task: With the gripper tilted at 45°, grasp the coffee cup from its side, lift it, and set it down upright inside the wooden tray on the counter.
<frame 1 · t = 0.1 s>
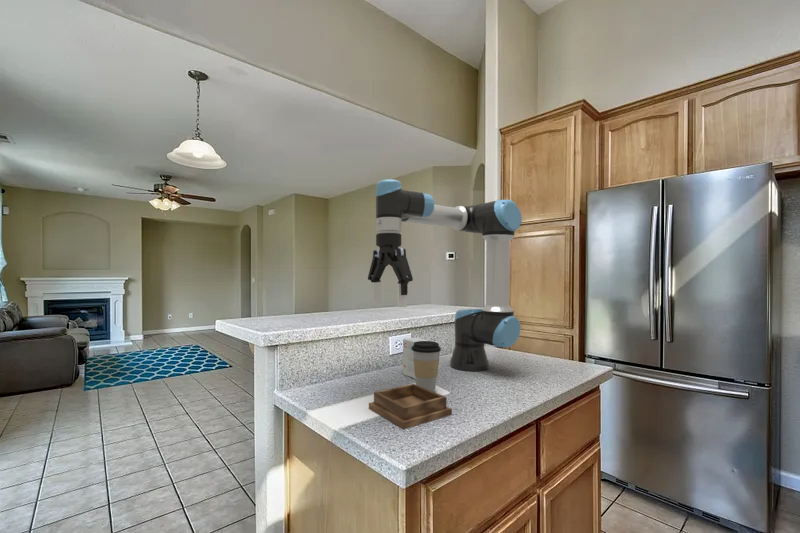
hand: (388, 305, 108), 28 cm above the counter, tool pointing down, fingers open, 13 cm apart
small box: (415, 375, 134), on the counter
coffee cup: (425, 391, 117), on the counter
wooden tray: (409, 411, 99), on the counter
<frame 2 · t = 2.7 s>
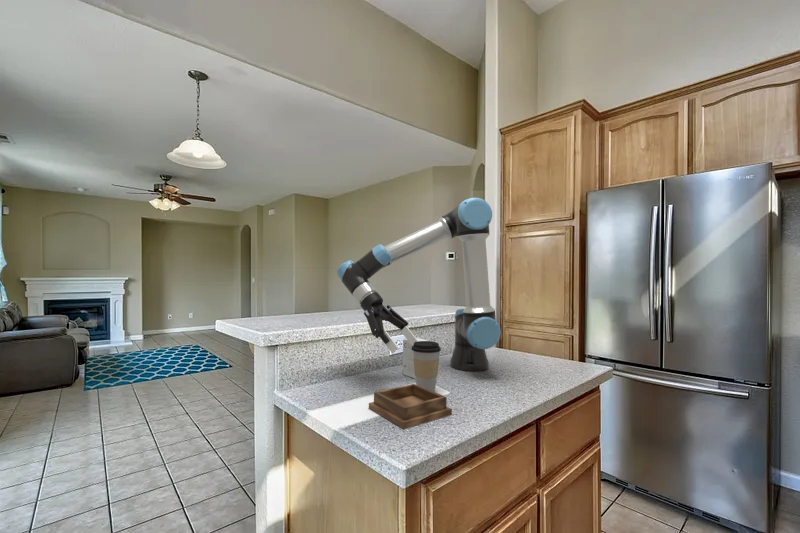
hand: (405, 346, 120), 13 cm above the counter, tool tilted 45°, fingers open, 13 cm apart
nothing on the counter moved.
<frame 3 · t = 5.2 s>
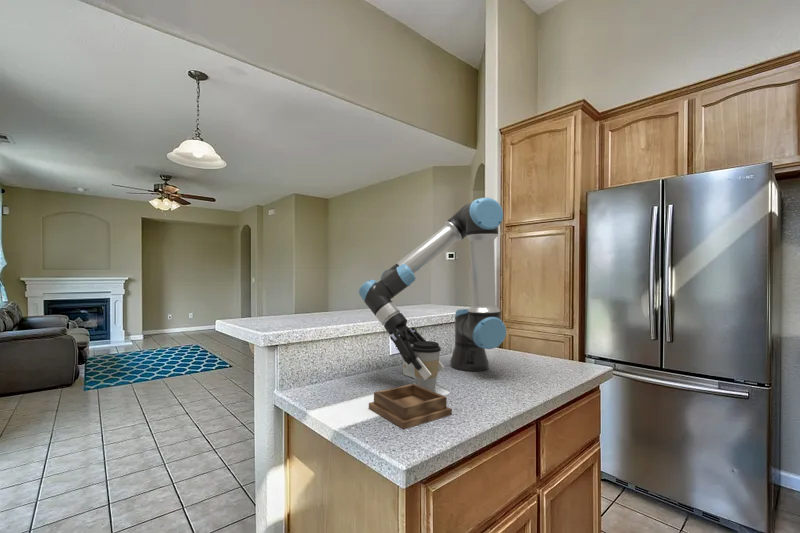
hand: (434, 373, 115), 6 cm above the counter, tool tilted 45°, fingers closed on coffee cup, 9 cm apart
coffee cup: (425, 391, 117), on the counter, touching gripper
everything else where it was.
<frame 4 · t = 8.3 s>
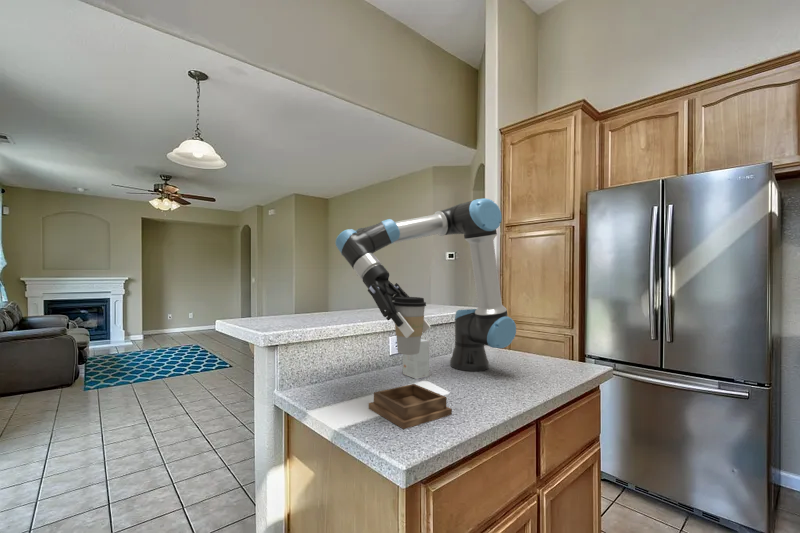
hand: (419, 332, 99), 21 cm above the counter, tool tilted 45°, fingers closed on coffee cup, 9 cm apart
coffee cup: (408, 353, 101), point 15 cm above the counter, touching gripper
everything else where it was.
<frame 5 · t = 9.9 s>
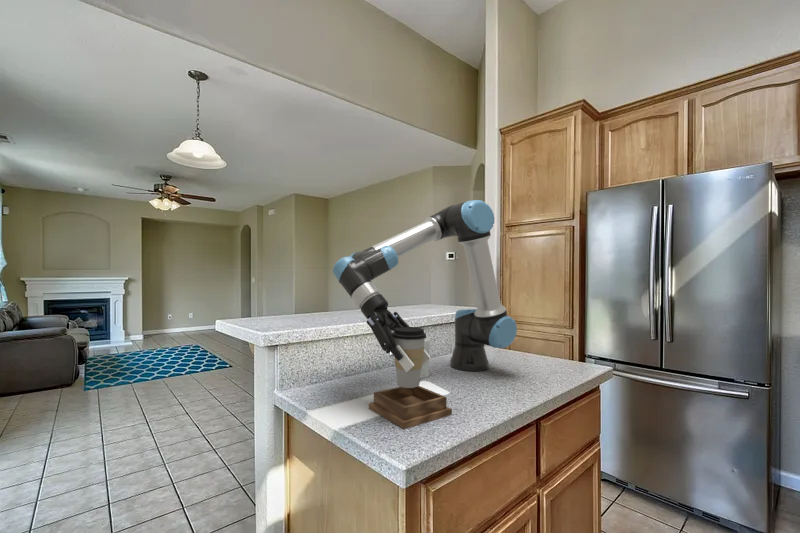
hand: (419, 364, 98), 13 cm above the counter, tool tilted 45°, fingers closed on coffee cup, 9 cm apart
coffee cup: (408, 385, 99), point 7 cm above the counter, touching gripper
everything else where it was.
when the fingers open (9 cm above the counter, at t = 11.2 s): coffee cup drops 2 cm, resting on wooden tray.
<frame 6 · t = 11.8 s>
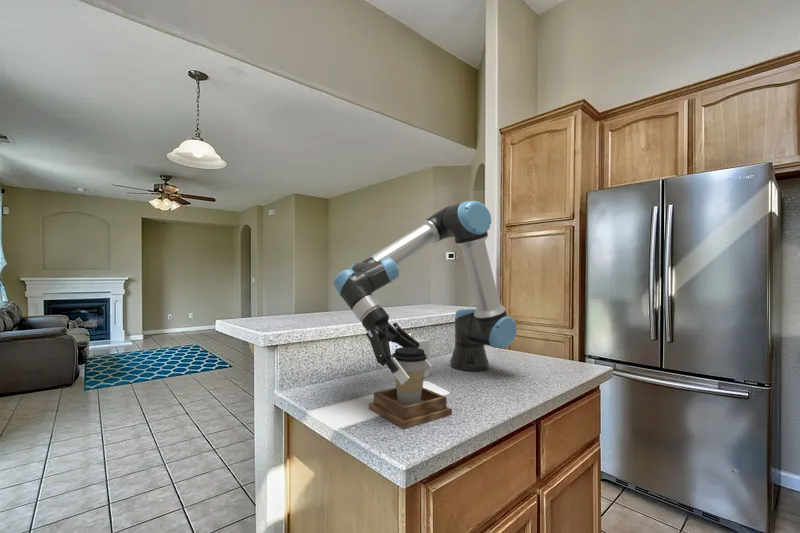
hand: (417, 375, 98), 10 cm above the counter, tool tilted 45°, fingers open, 13 cm apart
coffee cup: (408, 406, 99), point 1 cm above the counter, touching wooden tray
everything else where it was.
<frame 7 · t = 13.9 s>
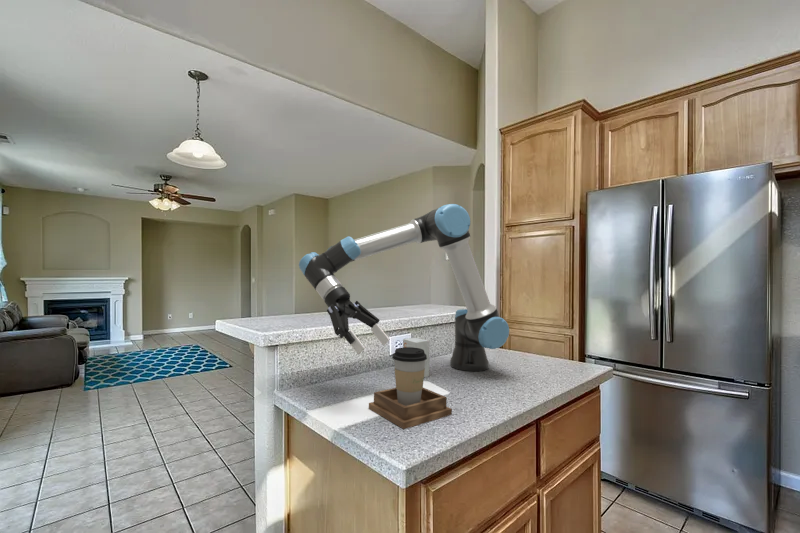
hand: (374, 346, 107), 16 cm above the counter, tool tilted 45°, fingers open, 13 cm apart
nothing on the counter moved.
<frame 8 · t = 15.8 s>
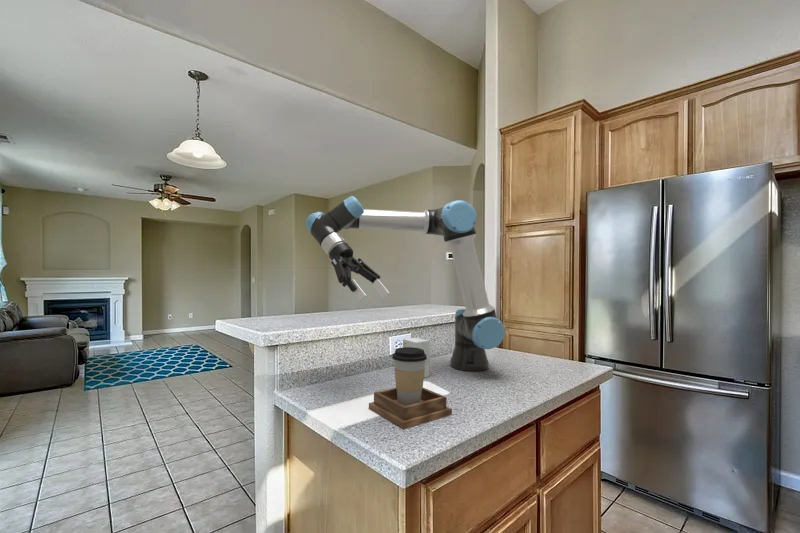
hand: (375, 297, 114), 30 cm above the counter, tool tilted 45°, fingers open, 13 cm apart
nothing on the counter moved.
at the end: coffee cup 0.2 cm off-centre on the wooden tray, point 1.3 cm above the wooden tray's base; coffee cup tilted 0°; the gripper is holding nothing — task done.
